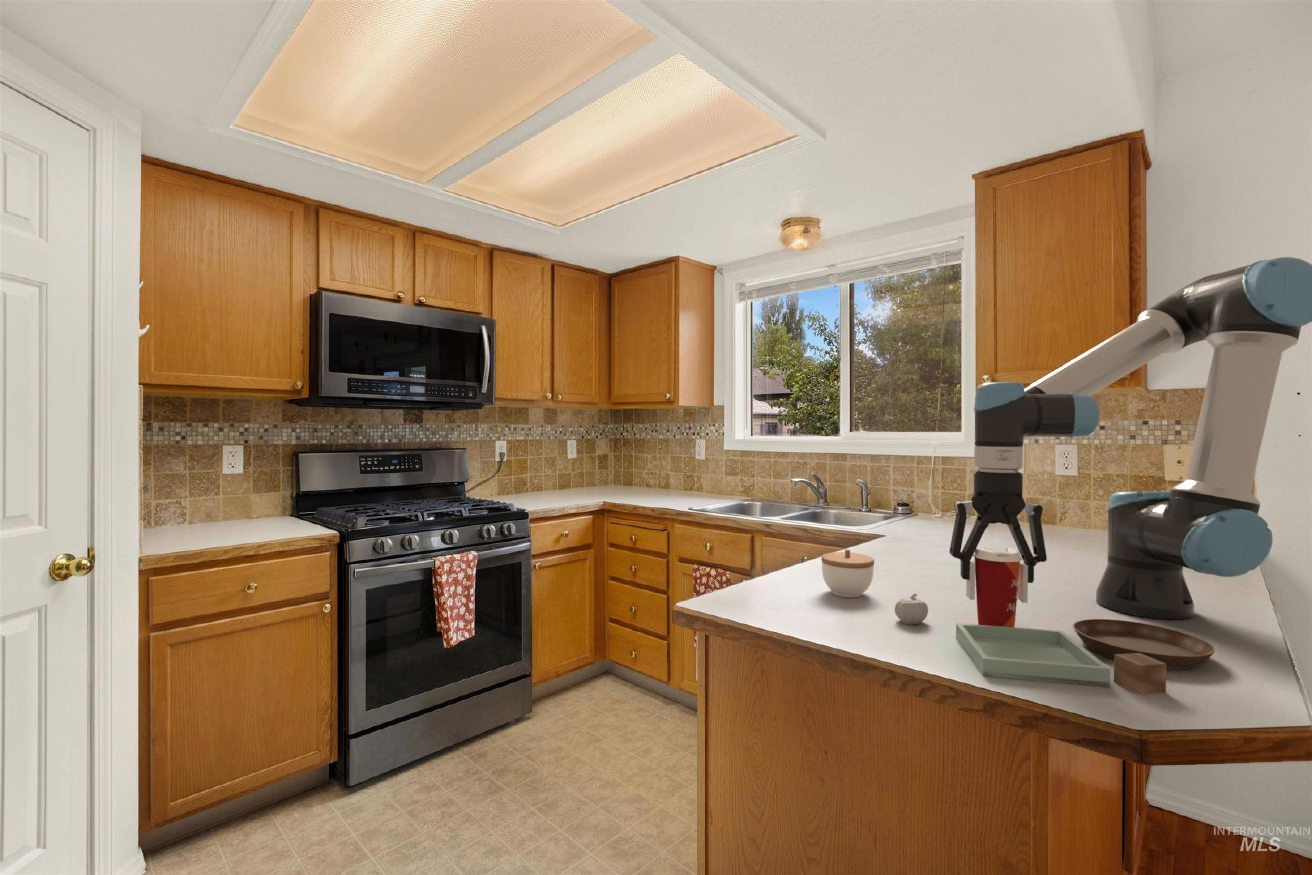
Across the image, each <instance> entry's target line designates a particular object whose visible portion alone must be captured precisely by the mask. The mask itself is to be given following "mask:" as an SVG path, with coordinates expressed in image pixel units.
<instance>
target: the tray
mask: <svg viewBox="0 0 1312 875" xmlns="http://www.w3.org/2000/svg"><path fill="white" fill-rule="evenodd" d="M955 638H956V640H957V642H958V643H959V644H960V645H961V647H962V648H963V650H964V651H965V653H966V655H967V656H968V657H969V658H970V659H971V661H972V662H973V664H974V665H975V667H976V668H977V669H978V671H979V672H980V674H981V675H982V676H983V677H993V678H1004V679H1005V678H1006V679H1014V680H1016V679H1018V680H1028V681H1038V682H1039V681H1041V682H1050V683H1063V684H1070V685H1071V684H1073V685H1083V686H1084V685H1085V686H1094V687H1106V688H1107V687H1108V688H1110V687H1111V685H1110V684H1111V683H1110V682H1111V668H1110V667H1108V666H1107V665H1106V664H1105V663H1103V662H1102V661H1101V660H1100V659H1099V658H1097V657H1096V656H1094V655H1093V654H1092V653H1091V652H1089V651H1088V650H1087V649H1086V648H1085V647H1084V646H1082V645H1081V644H1079V642H1077V641H1076V640H1074V639H1073V638H1072V637H1071V636H1070V635H1069V634H1067V633H1066V632H1064V631H1063V630H1059V629H1058V630H1056V629H1040V628H1027V627H1015V626H1014V627H1002V626H988V625H978V624H970V623H969V624H968V623H957V622H956V623H955Z"/></svg>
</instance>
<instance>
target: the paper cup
mask: <svg viewBox="0 0 1312 875" xmlns="http://www.w3.org/2000/svg"><path fill="white" fill-rule="evenodd" d="M972 557H974V563H975V599H976V611H977V625H988V626H1002V627H1015V625H1016V616H1017V614H1016V612H1017V602H1018V598H1017V593H1018V580H1019V567H1020V562H1022V561H1023V559H1022V557H1021V554H1020V552H1019V550H1018V549H1014V548H1011V547H1005V546H998V545H997V546H996V545H980V546H979V545H978V546H977V548H976V550H975V552H974V554H973V556H972Z"/></svg>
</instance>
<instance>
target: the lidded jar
mask: <svg viewBox="0 0 1312 875" xmlns="http://www.w3.org/2000/svg"><path fill="white" fill-rule="evenodd" d="M820 560H821V571H822V577H823V581H824V583H825V584H826V586H827V588H828V589H829V590H830V591H831V592H832V594H833V595H835V596H838V597H843V598H859V597H862V596H863V594H864V593H865V592H866V591H867V590H868V589H869V587H870V586H871V585H872V582H873V577H874V565H875V558H873V557H872V556H870V555H866V554H863V553H856V552H851V549H847V548H846V549H845V550H844V551H834V552H827V553H823V554H822V555H821V559H820Z"/></svg>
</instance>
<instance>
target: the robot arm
mask: <svg viewBox="0 0 1312 875" xmlns="http://www.w3.org/2000/svg"><path fill="white" fill-rule="evenodd" d="M1310 323H1312V263H1310V262H1308V261H1306V260H1303V259H1301V258H1296V257H1294V256H1293V257H1292V256H1282V257H1277V258H1272V259H1262V260H1258V261H1255V262H1253V263H1251V264H1247V265H1245V266H1241V267H1237V268H1236V267H1235V268H1233V269H1229V270H1226V271H1221V272H1219V273H1214V274H1210V275H1206V276H1204V277H1201V278H1199V279H1196V280H1194V281H1193V282H1191V283H1189V284H1187V285H1185V286H1184V287H1183V286H1182V287H1181V288H1180V289H1178V290H1177V291H1175V292H1173V293H1172V294H1170V295H1169V296H1167V297H1165V298H1164V299H1162V300H1160V301H1159V302H1157V303H1155V304H1154V305H1153V306H1151V307H1149V308H1147V309H1145V310H1144V311H1142V312H1141V313H1140V314H1139V315H1138V317H1137V319H1136V322H1135V323H1132V324H1131V325H1130V326H1127V327H1126V328H1124V329H1123V330H1121V331H1119V332H1118V333H1116V334H1115V335H1112V336H1111V337H1109V338H1108V339H1106V340H1104V341H1103V342H1101V343H1099V344H1097V345H1096V346H1094V347H1093V348H1091V349H1089V350H1087V351H1086V352H1084V353H1082V354H1080V355H1079V356H1077V357H1076V358H1073V359H1072V360H1070V361H1069V362H1067V363H1065V364H1064V365H1063V366H1061V367H1059V368H1058V369H1055V370H1054V371H1052V372H1051V373H1049V374H1047V375H1046V376H1044V377H1042V378H1040V379H1038V380H1037V381H1036V382H1033V383H1031V384H1030V385H1029V386H1027V387H1026V388H1025V386H1024V384H1023V383H1021V382H1018V381H1017V382H1015V381H1014V382H1012V381H1008V382H1007V381H1004V382H1003V381H1001V382H999V381H998V382H985V383H981V384H979V385H978V386H977V388H976V391H975V396H974V407H973V410H974V454H973V456H974V458H973V467H974V468H976V469H977V470H976V471H975V472H974V473H973V496H972V497H971V499H970V500H968V501H955V502H954V503H953V504H954V510H955V520H954V524H953V531H952V536H951V540H950V541H951V542H950V546H949V551H948V552H949V554H950V555H951V556H952V557H953V558H955V559H958V560H960V577H961V578H962V580H965V581H966V589H965V591H966V592H965V594H966V597H967V598H968V599H969V600H972V601H973V600H974V601H976V577H975V561H973V560H972V558H973V557H974V556H973V554H974V552H975V550H976V548H977V547H979V544H980V541H981V539H982V537H983V534H985V531H986V529H987V528H988V527H989V525H990V524H991V525H992V524H993V525H995V524H1002V525H1006V526H1007V528H1008V529H1009V532H1010V534H1011V536H1012V538H1013V540H1014V543H1015V545H1016V546H1017V550H1018V551H1019V553H1020V557H1021V558H1022V561H1023V562H1022V561H1020V567H1019V580H1018V592H1017V600H1018V601H1020V602H1021V603H1023V604H1029V603H1028V601H1029V600H1028V596H1029V594H1028V592H1029V587H1028V586H1029V585H1028V584H1033V583H1034V581H1035V566H1037V564H1039V563H1045V562H1046V561H1047V560H1048V559H1047V558H1048V557H1047V551H1046V545H1045V544H1046V543H1045V539H1044V532H1043V531H1044V530H1043V526H1042V520H1041V519H1042V514H1043V510H1044V508H1043V506H1042V505H1040V504H1038V503H1035V502H1034V503H1033V502H1032V503H1028V502H1025V499H1024V497H1023V488H1024V486H1023V482H1024V481H1023V478H1024V477H1023V475H1024V474H1023V473H1022V472H1020V471H1019V470H1022V469H1023V468H1024V464H1023V462H1024V437H1025V438H1029V437H1044V438H1046V437H1047V438H1051V437H1053V438H1054V437H1055V438H1061V437H1062V438H1074V437H1077V438H1078V437H1087V436H1089V435H1091V434H1092V433H1094V432H1095V431H1096V429H1097V428H1098V426H1099V421H1100V407H1099V404H1098V403H1097V401H1096V399H1095V398H1094V397H1092V395H1094V394H1096V393H1098V392H1099V391H1101V390H1103V389H1105V388H1106V387H1108V386H1110V385H1112V384H1114V383H1115V382H1117V381H1118V380H1120V379H1122V378H1124V377H1125V376H1127V375H1129V374H1131V373H1132V372H1134V371H1136V370H1137V369H1138V368H1141V367H1143V366H1144V365H1146V364H1147V363H1149V362H1151V361H1152V360H1155V359H1156V358H1158V357H1159V356H1161V355H1162V354H1174V353H1177V352H1179V351H1181V350H1182V349H1184V348H1185V347H1188V346H1190V345H1193V344H1195V343H1199V342H1202V341H1206V342H1207V343H1208V344H1209V345H1210V346H1212V348H1213V349H1214V350H1213V355H1212V359H1211V363H1210V367H1209V373H1208V377H1207V380H1206V381H1207V382H1206V386H1205V390H1204V394H1203V400H1202V403H1201V408H1200V411H1199V417H1198V419H1197V420H1198V422H1197V426H1196V430H1195V434H1194V440H1193V444H1192V446H1191V447H1192V448H1191V452H1190V455H1189V456H1190V457H1189V461H1188V464H1187V465H1188V466H1187V470H1186V474H1185V479H1184V480H1183V481H1182V482H1181V483H1178V484H1177V485H1174V486H1173V487H1171V490H1170V491H1165V490H1164V491H1163V490H1162V491H1159V490H1158V491H1118V492H1114V493H1112V494H1111V495H1110V496H1109V499H1108V506H1107V512H1106V513H1107V515H1108V516H1107V520H1108V521H1107V523H1108V524H1107V563H1106V567H1105V570H1104V572H1103V573H1102V576H1101V579H1100V581H1099V583H1098V586H1097V588H1096V592H1095V601H1096V603H1097V604H1098V605H1100V606H1101V607H1104V608H1107V609H1109V610H1112V611H1115V612H1120V613H1123V614H1128V615H1132V616H1138V617H1145V618H1151V619H1152V618H1153V619H1162V620H1187V619H1191V618H1193V617H1194V615H1195V604H1194V601H1193V600H1194V599H1193V597H1192V595H1191V592H1190V589H1189V587H1188V585H1187V582H1186V578H1185V576H1184V571H1183V569H1184V568H1186V569H1190V570H1193V571H1194V572H1196V573H1198V574H1205V575H1212V576H1215V577H1216V576H1217V577H1223V578H1230V577H1231V578H1234V577H1239V576H1243V575H1246V574H1247V573H1249V572H1250V571H1253V570H1255V569H1257V568H1259V566H1261V565H1262V564H1263V563H1264V561H1266V559H1267V558H1268V556H1269V554H1270V552H1271V549H1272V546H1273V532H1272V529H1270V528H1268V526H1269V524H1268V522H1267V521H1266V520H1265V519H1264V518H1263V517H1262V516H1260V515H1259V512H1260V507H1261V502H1260V501H1259V499H1258V498H1257V497H1256V496H1255V495H1254V494H1253V492H1252V486H1253V483H1254V477H1255V473H1256V469H1257V465H1258V462H1259V455H1260V453H1261V452H1260V451H1261V449H1262V448H1261V447H1262V443H1263V438H1264V434H1265V429H1266V426H1267V421H1268V416H1269V412H1270V408H1271V403H1272V401H1273V400H1272V399H1273V395H1274V391H1275V385H1276V382H1277V377H1278V372H1279V368H1280V364H1281V360H1282V355H1283V353H1284V352H1285V351H1287V350H1288V349H1290V348H1292V347H1294V346H1296V345H1297V344H1298V342H1299V339H1300V333H1301V329H1302V326H1306V325H1308V324H1310ZM971 508H972V509H974V511H975V512H976V513H977V514H978V515H977V517H976V519H975V521H974V525H973V527H972V529H971V531H970V534H969V536H968V538H967V540H966V542H965V544H964V546H962V544H963V539H964V535H965V530H966V529H965V528H966V523H967V519H968V518H967V516H968V514H969V513H970V512H971V511H970V510H971ZM1023 510H1024V511H1025V512H1024V513H1025V514H1026V515H1027V519H1028V520H1027V521H1028V526H1029V534H1030V540H1031V545H1032V550H1031V548H1030V547H1029V544H1028V542H1027V539H1026V537H1025V535H1024V533H1023V531H1022V529H1021V524H1020V522H1019V520H1018V516H1019V515H1020V514H1021V513H1022V511H1023ZM962 547H963V548H962ZM1032 551H1033V553H1032Z"/></svg>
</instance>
